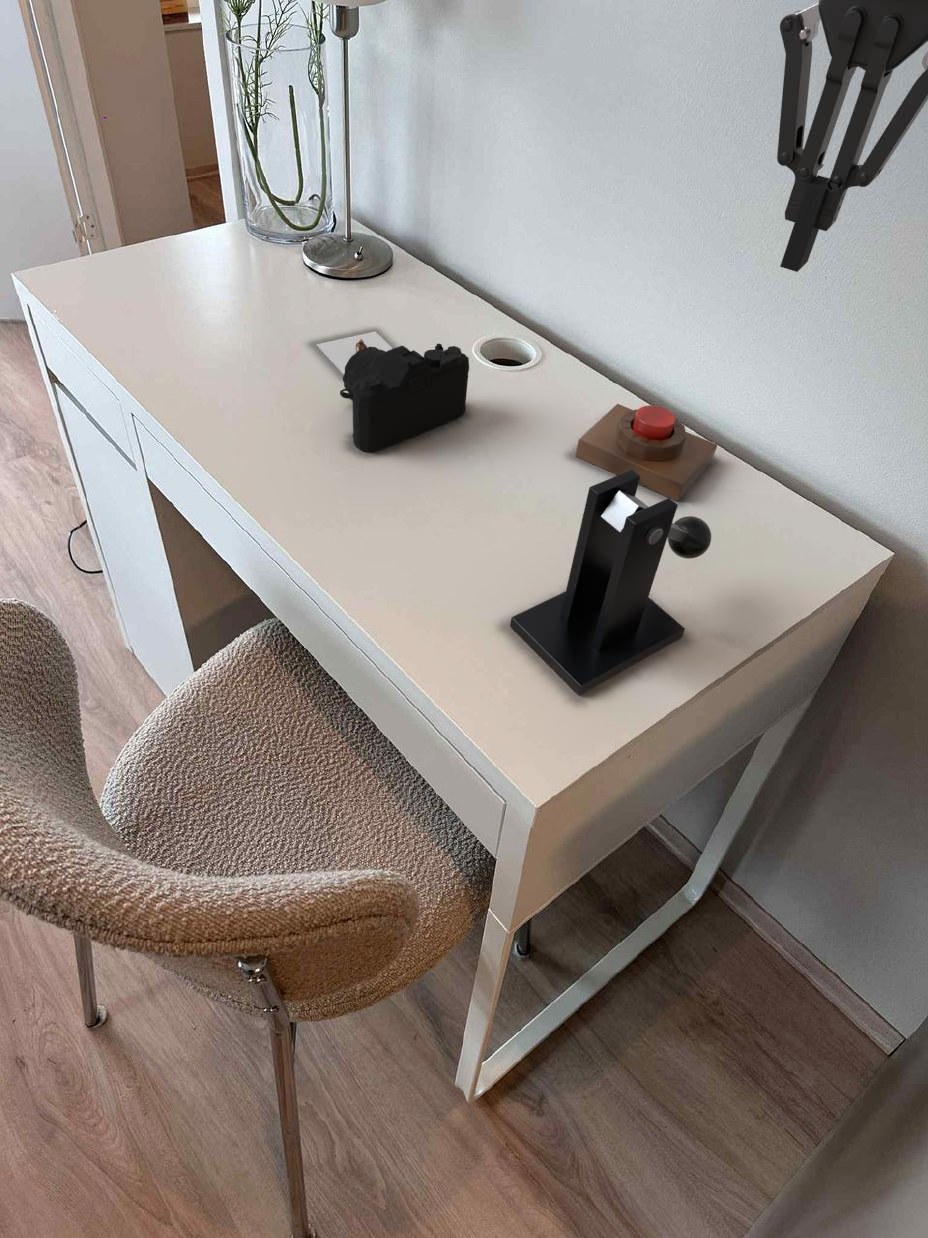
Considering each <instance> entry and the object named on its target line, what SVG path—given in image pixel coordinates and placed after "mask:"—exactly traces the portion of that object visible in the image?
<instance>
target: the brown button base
mask: <svg viewBox="0 0 928 1238" xmlns="http://www.w3.org/2000/svg"><path fill="white" fill-rule="evenodd" d="M638 409H639V408H637V409H632V408H630V407H627V406H624V405H622V404H620V403H616V404H615V405H614V406H613V407H612V408H611V409H610V410H609V411H608V412H606V413H605V415H603V416H602V417H601V418H600V419H599V420H598V421H597V422H596V423H595V424H594V425H593V426H591V428H589V429H588V430H587V431H586V432H584V434H583V435H582V436H581V437H579V438H578V442H577V446H576V447H577V448H576V451H575V457H576V458H578V459H580V460H582V461H585V462H587V463H590V464H592V465H593V466H597V467H598V468H601V469H603V470H606V471H608V472H610V473H612V474H614V475H616V476H617V475H620V474H622V473H625V472H627V471H629V470H633V471H634V472H636V473H637V474H638V475H640V480H639V483H638V486H642V487H643V488H646V489H648V490H651V491H652V492H655V493H657V494H660V495H661V496H664V497H666V498H669V499H671V500H672V501H674V502H679V501H680V499H682V497H683V496H684V495H685V494H686V492H688V490H689V489H690V488H691V487H692V485H693V484H694V483H695V482H696V480H698V478H699V477H700V476H701V475H702V474H703V472H704V471H705V470H706V469H707V468H708V467H709V465H711V463H712V462H713V460H714V456H715V454H716V450H717V448H718V444H716V443H714V442H712V441H709V440H707V439H704V438H702V437H699V436H698V435H695V434H692V433H690V432H688V431H686V427H685V425H684V424H683V423H682V422H681V421H680V420H679V419H678V418H676V417H675V422H674V426H673V429H672V432H671V435H670V437H669V438H668V439H665V440H661V441H659V440H649V439H646V438H644V437H642V436H639V435H638V434H637V433H636V432H635V431H634V430H633V424H634V420H635V416H636V412H637V410H638Z"/></svg>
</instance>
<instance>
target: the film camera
mask: <svg viewBox="0 0 928 1238" xmlns="http://www.w3.org/2000/svg"><path fill="white" fill-rule="evenodd" d="M469 371H470V358H469V357H468V356H467V355H466V354H465V353H463V352H462V349H461V348H460V347H459V346H455V345H452V346H447V349H444V347H443V345H442V344H441V343H436V345H435V346H434V348H433V349H428V350H426V351H424V353H423V355H421V354H420V353H419V352H418V351H416V350H414V349H413V350H409V349H408V348H407V347H406V346H404V345H399V346H396V347H394V348H393V349H391V350H389V351H386V352H385V351H384V350H380V349H378V348H376V347H367V348H363V349H361V350H359V351H358V352H357V353H355V354H354V355H352V357H351V358H350V359H349V361H348V362H347V364H346V366H345V373H344V374H343V376H342V382H343V386H344V388H343V389H340V391H339V395H340V396H341V398H343V399H347V400H351V402H352V404H351V405H352V441H353V444H354V446H355V448H357V449H358V450H360V451H362V452H365V453H376V452H378V451H381V450H384V449H386V448H389V447H392V446H395V445H397V444H400V443H402V442H404V441H407V440H410V439H412V438H414V437H417V436H420V435H422V434H424V433H427V432H430V431H432V430H434V429H437V428H440V427H442V426H444V425H446V424H448V423H451V422H453V421H455V420H457V419H459V418H461V417H463V415H465V413H466V411H467V410H466V409H467V406H466V405H467V403H466V402H467V394H468V393H467V392H468V381H469Z"/></svg>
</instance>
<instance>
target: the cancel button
mask: <svg viewBox="0 0 928 1238" xmlns="http://www.w3.org/2000/svg"><path fill="white" fill-rule="evenodd" d="M637 409H638V410H637V412H636V416H635V420H634V424H633V430H634V431H635V432H636V433H637V434H638V435H639V436H642V437H644V438H646V439H649V440H659V441H661V440H665V439H668V438H669V437H670V435H671V432H672V429H673V426H674V422H675V418H676V417H675V415H674V414H673V412H671V411H670V410H669V409H667V408H664V407H662V406H659V405H644V406H641V407H639V408H637Z"/></svg>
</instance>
